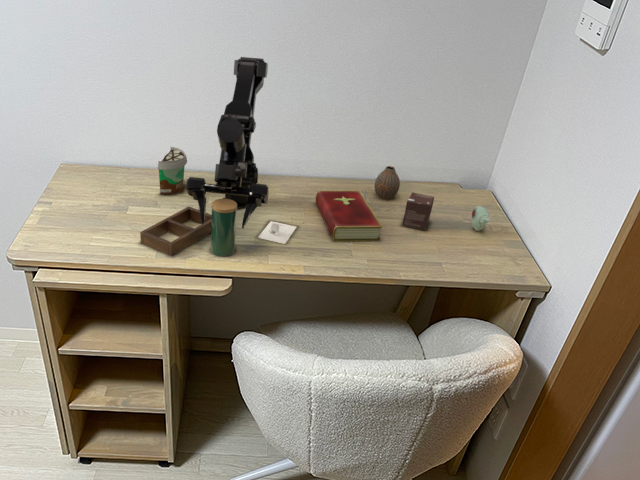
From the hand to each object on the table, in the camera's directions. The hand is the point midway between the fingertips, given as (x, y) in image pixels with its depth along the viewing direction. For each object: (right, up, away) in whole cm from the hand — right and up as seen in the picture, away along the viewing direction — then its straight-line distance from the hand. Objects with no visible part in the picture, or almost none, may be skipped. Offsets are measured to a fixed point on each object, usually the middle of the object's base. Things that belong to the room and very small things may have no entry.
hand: (222, 225), depth 139 cm
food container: (-14, +14, +33) cm, 38 cm away
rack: (-11, -1, +10) cm, 15 cm away
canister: (0, -5, +5) cm, 7 cm away
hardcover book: (+32, +4, +21) cm, 38 cm away
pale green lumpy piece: (+65, +1, +20) cm, 69 cm away
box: (+50, +3, +22) cm, 55 cm away
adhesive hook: (+13, 0, +14) cm, 20 cm away
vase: (+45, +12, +35) cm, 59 cm away
